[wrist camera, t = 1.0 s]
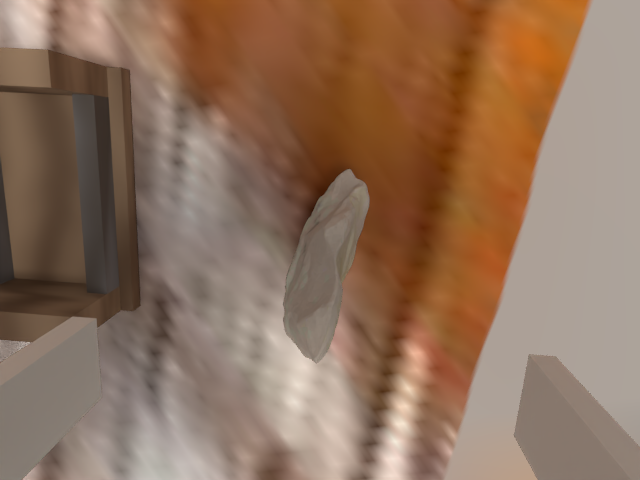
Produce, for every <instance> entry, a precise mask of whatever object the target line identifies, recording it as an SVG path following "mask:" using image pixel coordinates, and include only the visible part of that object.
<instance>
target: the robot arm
mask: <svg viewBox="0 0 640 480" xmlns="http://www.w3.org/2000/svg"><path fill="white" fill-rule="evenodd" d="M101 398H102V389H101V375H100V361H99V347H98V333H97V320H96V318H85V317H71V318H70V319H68V320H66V321H65V322H63V323H62V324H60V325H59V326H57V327H55V328H54V329H52V330H51V331H49V332H48V333H46V334H44V335H43V336H41V337H40V338H38V339H37V340H35V341H33V342H32V343H30V344H29V345H27V346H26V347H24V348H22V349H21V350H19V351H18V352H16V353H15V354H13V355H11V356H10V357H8V358H7V359H5V360H4V361H2V362H0V480H22V479H23V478H24V477H25V476H26V475H27V474H28V473H29V472H30V471H31V470H32V469H33V468H34V467H35V466H36V465H37V464H38V463H39V462H40V461H41V460H42V459H43V457H44V456H45V455H46V454H47V453H48V452H49V451H50V450H51V449H52V448H53V447H54V446H55V445H56V444H57V443H58V442H59V441H60V440H61V439H62V438H63V437H64V436H65V435H66V434H67V433H68V432H69V431H70V430H71V429H72V428H73V427H74V425H75V424H76V423H77V422H78V421H79V420H80V419H81V418H82V417H83V416H84V415H85V414H86V413H87V412H88V411H89V410H90V409H91V408H92V407H93V406H94V405H95V404H96V403H97V402H98V401H99V400H100V399H101ZM514 437H515V438H516V440H517V442H518V444H519V446H520V448H521V450H522V451H523V453H524V455H525V457H526V459H527V461H528V463H529V464H530V466H531V468H532V470H533V472H534V474H535V476H536V477H537V479H538V480H640V447H639V446H638V445H637V444H636V443H635V441H634V440H633V439H632V438H631V437H630V436H629V435H628V434H627V433H626V432H625V431H624V430H623V428H622V427H621V426H620V425H619V424H618V423H617V422H616V421H615V420H614V419H613V418H612V417H611V416H610V414H609V413H608V412H607V411H606V410H605V409H604V408H603V407H602V406H601V405H600V404H599V403H598V402H597V400H596V399H595V398H594V397H593V396H592V395H591V394H590V393H589V392H588V391H587V390H586V389H585V387H583V385H582V384H581V383H580V382H579V381H578V380H577V379H576V378H575V377H574V376H573V375H572V373H571V372H569V370H568V369H567V368H566V367H565V366H564V365H563V364H562V363H561V362H560V361H559V360H558V358H557V357H554V356H543V355H531V354H529V356H528V362H527V367H526V373H525V379H524V384H523V389H522V395H521V400H520V405H519V411H518V416H517V422H516V428H515V433H514Z"/></svg>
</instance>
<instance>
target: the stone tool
mask: <svg viewBox="0 0 640 480" xmlns="http://www.w3.org/2000/svg"><path fill="white" fill-rule="evenodd" d="M369 202H370V198H369V194H368V189H367V186H366V184H365V182H363V181H362V180H359V179H357V178H356V177H355V176H354V174H353V172H352V171H351V170H350V169H347V170H345V171H344V172H343V173H341V174H340V175H338V176H337V177H336V179H335V181H334V182H332V183H331V185H330V186H329V188H328V190H327V191H326V192H325V194H324V195H323V196H321V197H320V198H319V199H318V201H317V203H316V206H315V208H314V210H313V212H312V215H311V216H310V217H309V218H308V220H307V221H306V223H305V226H304V228H303V231H302V233H301V236H300V240H299V244H298V247H297V249H296V252H295V254H294V256H293V260H292V263H291V266H290V268H289V271H288V274H287V278H286V286H285V288H286V292H285V297H284V302H283V306H284V309H285V313H284V318H283V322H284V327H285V331H286V334H287V335H288V336H289V337H290V338H291V339H292V341H293V342H294V343H296V345H297V347H298V348H299V349H300V351H301V352H302V354H303V355H304V356H305V357H307V358H309V359H312V361H313V362H315V363H318V362H319V361H320V360H321V359H322V358H323V357H324V356H325V354H326V353H327V351H328V349H329V347H330V344H331V341H332V339H333V336H334V332H335V328H336V325H337V322H338V317H339V312H340V307H341V302H342V292H343V289H342V282H343V280H344V278H345V276H346V274H347V273H348V271H349V269H350V267H351V265H352V263H353V260H354V256H355V252H356V245H357V241H358V238H359V236H360V234H361V231H362V229H363V225H364V220H365V217H366V214H367V211H368V208H369Z"/></svg>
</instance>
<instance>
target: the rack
mask: <svg viewBox="0 0 640 480" xmlns="http://www.w3.org/2000/svg"><path fill="white" fill-rule="evenodd" d="M139 306H140V287H139V265H138V243H137V222H136V200H135V179H134V157H133V136H132V114H131V92H130V71H129V70H126V69H123V68H115V67H105V66H101V65H98V64H95V63H91V62H88V61H84V60H81V59H78V58H74V57H71V56H67V55H64V54H61V53H57V52H54V51H50V50H42V49H20V48H0V340H12V341H24V342H33V341H35V340H37V339H38V338H40V337H41V336H43V335H44V334H46V333H48V332H49V331H51V330H52V329H54V328H55V327H57V326H59V325H60V324H62V323H63V322H65V321H66V320H68V319H70V318H71V317H85V318H96V320H97V328H98V327H99V326H100V325H102V324H103V323H104V322H106V321H107V320H108V319H110V318H111V317H112V316H114V315H115V314H116V313H118V312H119V311H120V310H126V311H134V310H135V309H136V308H138V307H139Z"/></svg>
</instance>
